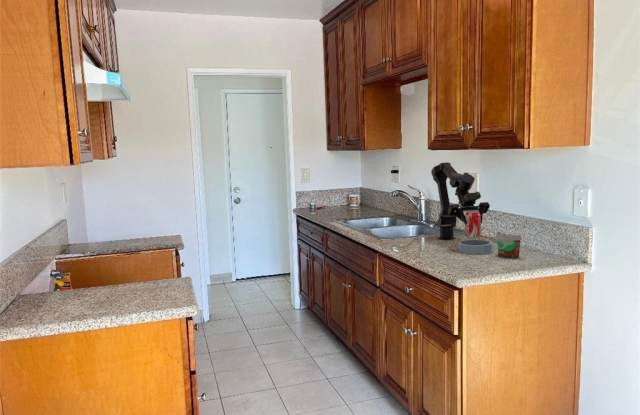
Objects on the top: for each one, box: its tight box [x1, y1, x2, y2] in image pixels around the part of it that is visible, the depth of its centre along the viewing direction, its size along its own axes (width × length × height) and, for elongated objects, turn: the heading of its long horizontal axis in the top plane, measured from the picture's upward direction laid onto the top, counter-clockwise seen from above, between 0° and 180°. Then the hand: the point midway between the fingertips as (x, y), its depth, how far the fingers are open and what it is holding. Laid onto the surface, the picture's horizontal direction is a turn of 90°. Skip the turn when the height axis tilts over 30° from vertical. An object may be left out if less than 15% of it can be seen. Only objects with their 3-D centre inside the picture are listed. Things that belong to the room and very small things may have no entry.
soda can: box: [464, 210, 482, 239], centre depth 226 cm, size 7×7×12 cm
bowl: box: [457, 238, 493, 256], centre depth 227 cm, size 15×15×4 cm
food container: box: [494, 231, 523, 259], centre depth 214 cm, size 12×6×10 cm, turn 27°
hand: (474, 223), depth 224 cm, fingers closed on soda can, 7 cm apart
